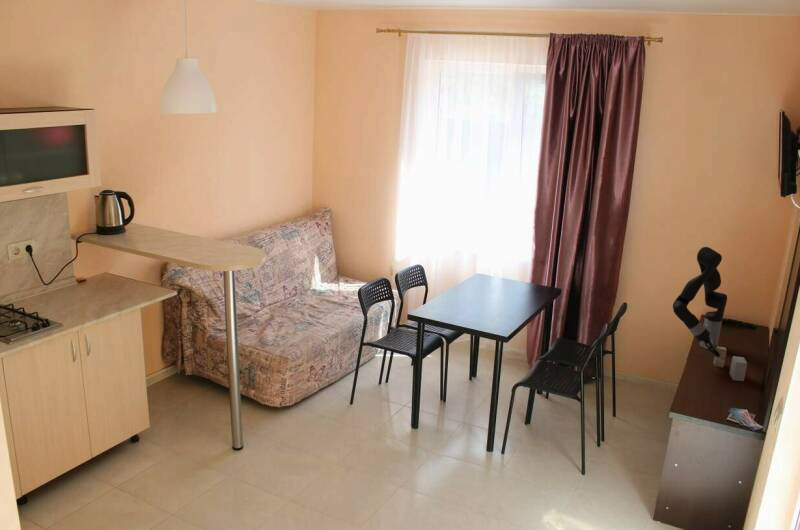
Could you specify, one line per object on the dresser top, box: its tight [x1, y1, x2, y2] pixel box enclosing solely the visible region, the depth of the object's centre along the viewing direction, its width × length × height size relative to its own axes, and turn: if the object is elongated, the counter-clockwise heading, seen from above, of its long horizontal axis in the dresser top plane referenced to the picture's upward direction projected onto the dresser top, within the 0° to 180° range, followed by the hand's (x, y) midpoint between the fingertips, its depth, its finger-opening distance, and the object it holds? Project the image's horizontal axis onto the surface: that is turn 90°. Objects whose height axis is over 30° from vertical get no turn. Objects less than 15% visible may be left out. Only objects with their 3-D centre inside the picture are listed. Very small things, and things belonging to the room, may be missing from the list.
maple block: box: [712, 345, 728, 368], centre depth 390 cm, size 4×4×10 cm
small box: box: [729, 355, 748, 382], centre depth 376 cm, size 8×6×10 cm
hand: (717, 353), depth 389 cm, fingers open, 8 cm apart
